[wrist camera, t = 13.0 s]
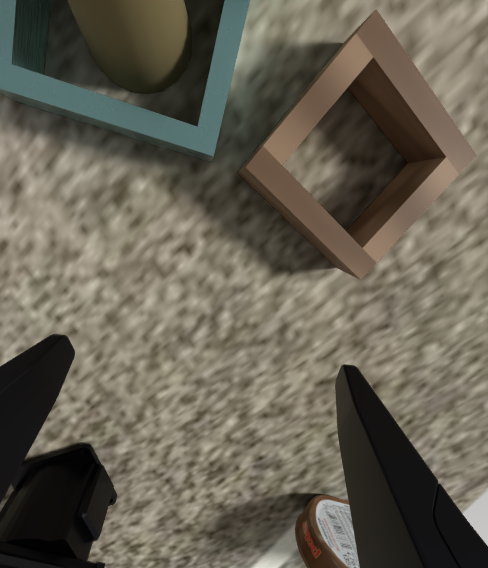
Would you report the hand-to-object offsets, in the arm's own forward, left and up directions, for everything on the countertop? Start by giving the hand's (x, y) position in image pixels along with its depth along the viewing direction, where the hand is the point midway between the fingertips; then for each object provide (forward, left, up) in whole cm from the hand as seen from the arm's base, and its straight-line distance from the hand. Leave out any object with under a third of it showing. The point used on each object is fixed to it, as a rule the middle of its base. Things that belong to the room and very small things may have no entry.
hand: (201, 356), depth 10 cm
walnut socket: (+12, +4, -12) cm, 18 cm away
